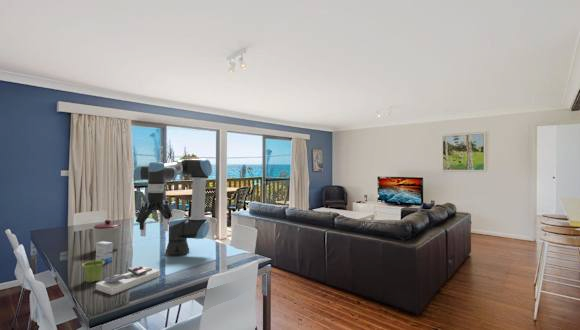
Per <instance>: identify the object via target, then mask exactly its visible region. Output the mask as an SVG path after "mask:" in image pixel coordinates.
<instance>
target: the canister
mask: <svg viewBox="0 0 580 330" xmlns="http://www.w3.org/2000/svg"><path fill="white" fill-rule="evenodd" d="M122 227H123V224H122V223H120V222H111V219H105V221H104V222H102V223H98V224H95V225H94V226H92V227H91V229H92V230H93V231H92V232H93V240H94V246H95V249H96V243H98V242H102V241H105V242H112V243H113V251H114V250H117V249H118V248H119V246H120V240H121V233H122Z"/></svg>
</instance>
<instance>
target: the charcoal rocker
mask: <svg viewBox="0 0 580 330" xmlns="http://www.w3.org/2000/svg"><path fill="white" fill-rule="evenodd" d="M127 271H128V272H131V273H133V275H137V276H140V275H143V274H145V273H147V270H145V269H144V268H143V267H142V266H139V265H138V264H136V265H133V266H131V267H128V268H127Z"/></svg>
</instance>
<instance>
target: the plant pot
mask: <svg viewBox="0 0 580 330" xmlns="http://www.w3.org/2000/svg"><path fill="white" fill-rule="evenodd" d="M104 264H105V263H104V261H96V260H90V261H87V262H84V263H82V265H81V266H82V268H83V271H84V277H85V278H84V279H85V282H86V283H94V282H99V281H100V279H101V275H102V270H103V267H104Z"/></svg>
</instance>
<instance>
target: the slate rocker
mask: <svg viewBox="0 0 580 330" xmlns="http://www.w3.org/2000/svg"><path fill="white" fill-rule="evenodd" d="M124 278H125V275H122V274H119V273H117V274H115V275H112V276H108V277H106V278H104V279H103V281H104V282H110V283H113V282H116V281H119V280H122V279H124Z"/></svg>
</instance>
